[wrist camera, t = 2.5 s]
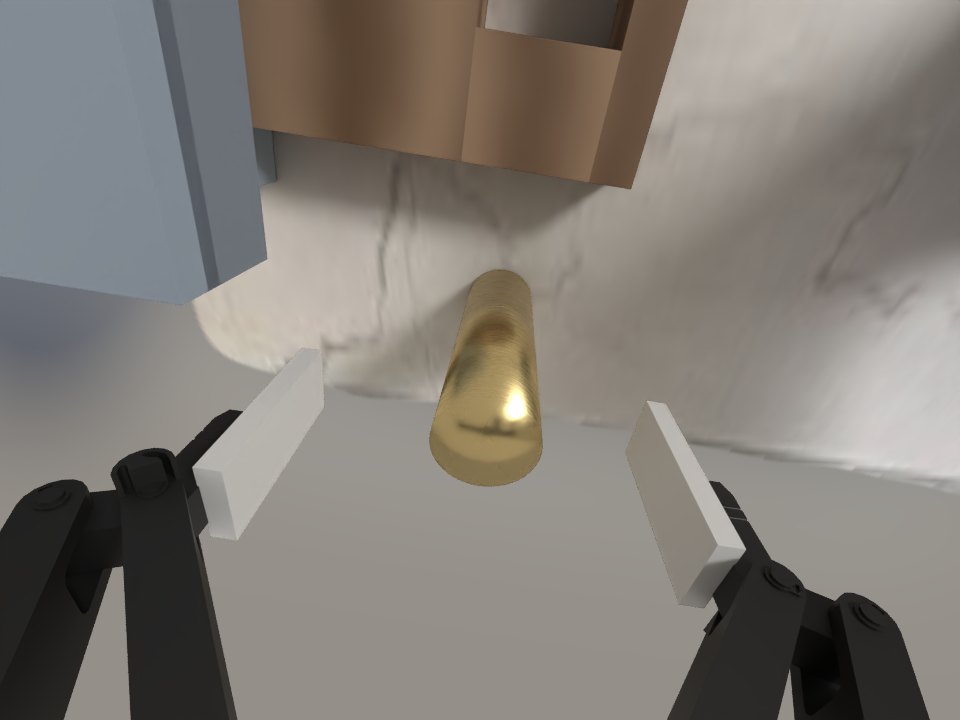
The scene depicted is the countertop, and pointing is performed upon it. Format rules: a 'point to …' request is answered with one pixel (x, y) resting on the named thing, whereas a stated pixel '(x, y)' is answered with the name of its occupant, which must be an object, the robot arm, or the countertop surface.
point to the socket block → (460, 83)
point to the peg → (491, 388)
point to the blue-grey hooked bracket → (128, 147)
